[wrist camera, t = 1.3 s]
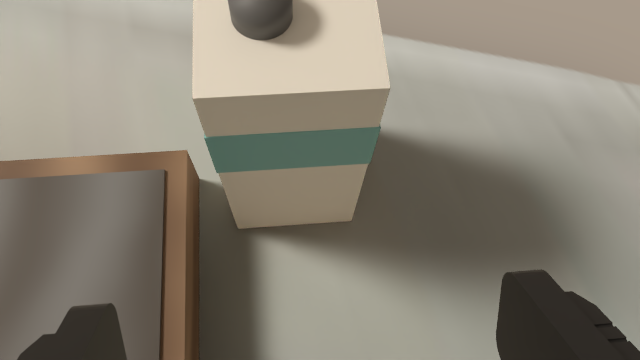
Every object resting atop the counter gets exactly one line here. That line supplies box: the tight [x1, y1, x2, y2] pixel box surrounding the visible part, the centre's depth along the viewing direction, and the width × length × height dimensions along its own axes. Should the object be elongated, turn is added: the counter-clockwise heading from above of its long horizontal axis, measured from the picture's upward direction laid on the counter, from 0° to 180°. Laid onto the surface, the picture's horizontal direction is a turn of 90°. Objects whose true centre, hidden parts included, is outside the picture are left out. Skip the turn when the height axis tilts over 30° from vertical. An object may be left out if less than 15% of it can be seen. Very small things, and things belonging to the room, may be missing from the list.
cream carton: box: [192, 0, 390, 229], centre depth 23 cm, size 6×6×14 cm
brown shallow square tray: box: [0, 150, 199, 360], centre depth 24 cm, size 16×16×4 cm
